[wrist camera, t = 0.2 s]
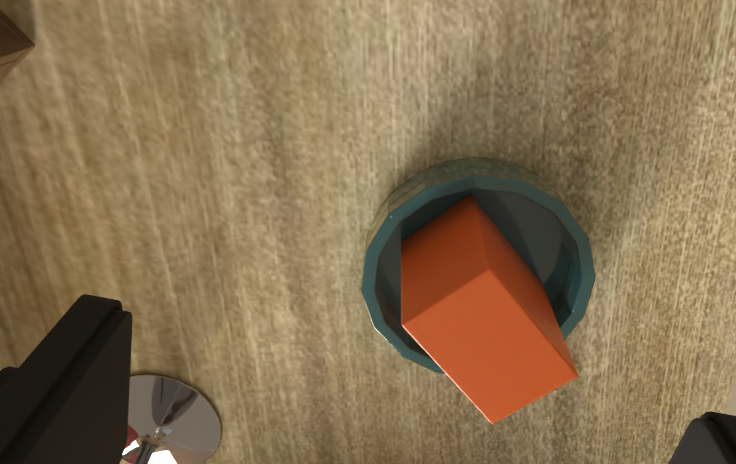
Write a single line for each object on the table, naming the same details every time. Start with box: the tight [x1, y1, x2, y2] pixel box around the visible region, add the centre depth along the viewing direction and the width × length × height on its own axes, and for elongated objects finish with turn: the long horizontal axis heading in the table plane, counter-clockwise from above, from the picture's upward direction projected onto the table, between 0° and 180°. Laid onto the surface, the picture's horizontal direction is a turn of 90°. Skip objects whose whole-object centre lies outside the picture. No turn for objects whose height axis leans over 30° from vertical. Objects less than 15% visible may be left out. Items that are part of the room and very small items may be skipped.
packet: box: [401, 195, 578, 424], centre depth 27 cm, size 4×6×7 cm, turn 39°
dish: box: [361, 158, 596, 374], centre depth 30 cm, size 10×10×2 cm
